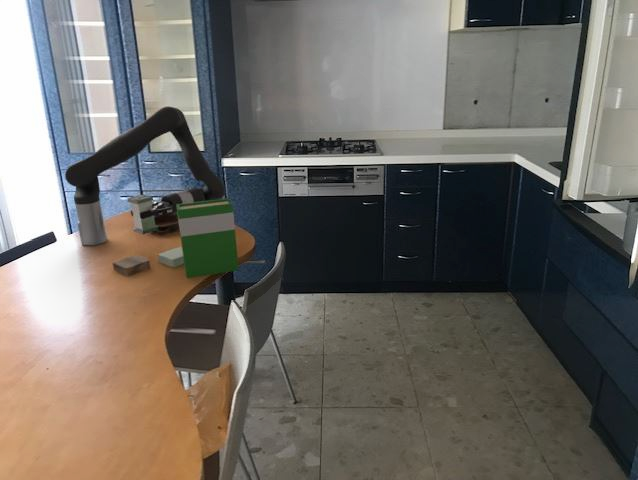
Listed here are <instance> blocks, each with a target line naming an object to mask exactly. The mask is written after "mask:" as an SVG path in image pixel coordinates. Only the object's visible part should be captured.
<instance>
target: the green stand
mask: <svg viewBox="0 0 638 480" xmlns="http://www.w3.org/2000/svg"><path fill="white" fill-rule="evenodd" d="M157 258H158V263H160V264H163V265H166V266H168V267H170V268H176V267H179V266H182V265H184V258H183V250H182V247H180V246H178V247H175V248H172V249H169V250H166V251H163V252H161V253H158V254H157Z"/></svg>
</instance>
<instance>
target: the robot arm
mask: <svg viewBox="0 0 638 480" xmlns="http://www.w3.org/2000/svg"><path fill="white" fill-rule="evenodd" d="M187 121H188V120H187V119H186V117H185V114H184V113H183V111H182V110H180V109H179V108H178V107H174V106H168V105H167V106H163V107H161V108H159V109H158V110H157V111H155V112H154V113H153V114H151V116H149V117H148V118H147V119H146V120H144V121H143V122H141V123H139V124H138V125H136V126H133V127H132V128H130V129H128V130H126V131H125V132H123V133H121V134H119V135H117V136H116V137H114V138H113V139H112V140H110V141H109V142H107V143H106V144H104V145H103V146H102V147H100V148H99V149H98V150H97V151H95V152H94V153H93V154H91V155H90V156H87V157H86V158H83V159H81V160H78V161H75V162H73V163H72V164H70V165H69V166H68V167H67V168H66V171H65V174H64V176H65V180H66V182H67V183H68V184H69V185H70V186H72V187H75V193H74V196H73V201H74V204H75V205H74V206H75V210H76V215H77V220H78V222H77V228H78V231H79V232H78V234H79V238H80V243H81V245H82V246H96V245H101V244H104V243H106V242H107V241H108V237H107V229H106V225H105V220H104V215H103V210H102V209H103V208H102V203H101V199H100V191H101V190H100V189H101V188H100V183H99V182H100V181H99V176H100V174H102V173H104V172H105V171H107V170H110V169H112V168H116V166H117V167H118V166H119V165H121V164H122V163H125V162H127V161H129V160H131V159H132V158H134V157H135V156H136V155H139V154H140V153H141V152H142V151H143V150H144V149H145V148H146V147H147V146H148V145H149V144H150V143H151V142H152V141H154V140H155V139H157V138H159V137H161V136H163V135H165V134H167V133H170V134H171V135H172V136H173V138H175V140H176V141H177V144H178V145H179V148H180V149H181V150H180V151H181V153H182V155H183V156H182V157H183V159H184V161H185V163H186V165H187V167H188V169H189V170H190V171H189V172H190V173H191V175H192V176H193V178H194V180H196V181H197V182H203V183H204V185H205V186H203V187H200V188H199V187H193V188H190V189H185V190H180V191H176V192H172V193H168V194H165V195H163V196H162V198H161V200H160V201H159V200H158V201H154V202H153V200H152V201H151V202H152V208H153V209H151V210H148V211H144V212H141V213H140V218H141V219H145V218H148V217H155V216H156V217H161V216H165V215H170V216H171V215H174V214H177V207H176V204H184V203H192V202H201V201H209V200H218V199H223V197H224V196H226V192H227V191H226V187H225V184H224V182H223V181H222V180H221V179H220V177H219V176H218V175H217V174H216V173H215V172H214V171H213V170H212V169H211V168H210V166H209V164H208V163H207V161H206V159H205V157H204V155H203V154H202V152H201V150H200V148H199V147H198V144H197V143H196V140H195V139H194V137H193V135H192V131H191V129H190V127H189V125H188V122H187ZM130 214H131V216H132V217H133V213H132V209H131V210H130Z"/></svg>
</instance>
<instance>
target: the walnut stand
mask: <svg viewBox="0 0 638 480" xmlns="http://www.w3.org/2000/svg"><path fill="white" fill-rule="evenodd" d="M112 267H113V271H114V272H116V273H118V274H122V275H123V276H126V277H127V278H128V277H130V276H133V275H136V274H138V273H141V272H143V271H146V270H149V269H151V262H150V260H149V259H148V258H144V257H142V256H140V255H137V254H134V255H130V256H128V257H125V258H122V259H119V260H116V261H113V262H112Z"/></svg>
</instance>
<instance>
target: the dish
mask: <svg viewBox="0 0 638 480" xmlns="http://www.w3.org/2000/svg"><path fill="white" fill-rule="evenodd" d="M154 220H155V226H158V230H156V231H152V232H151V233H152V234H157V235H160V236H165V235H168V234H171V233H174V232H176V231H180V229H179V221H178V214H174V215H171V216H170V215H165V216H161V217H156V216H155V217H154Z"/></svg>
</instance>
